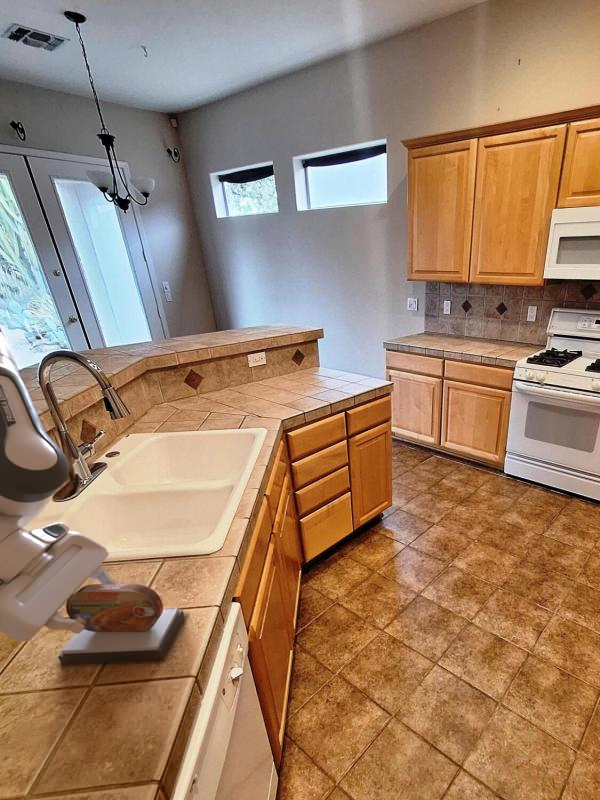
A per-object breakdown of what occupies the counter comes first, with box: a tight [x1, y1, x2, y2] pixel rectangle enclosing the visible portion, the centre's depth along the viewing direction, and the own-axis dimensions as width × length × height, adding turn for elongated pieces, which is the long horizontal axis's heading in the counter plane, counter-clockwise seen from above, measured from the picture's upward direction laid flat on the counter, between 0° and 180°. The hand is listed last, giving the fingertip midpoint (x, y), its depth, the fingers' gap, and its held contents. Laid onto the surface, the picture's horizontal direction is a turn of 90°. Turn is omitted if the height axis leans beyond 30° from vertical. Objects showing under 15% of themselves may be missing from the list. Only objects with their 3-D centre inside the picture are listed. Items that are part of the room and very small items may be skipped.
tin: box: [65, 583, 164, 632], centre depth 73 cm, size 15×3×8 cm, turn 90°
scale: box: [57, 608, 186, 666], centre depth 75 cm, size 16×10×3 cm, turn 94°
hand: (100, 607), depth 72 cm, fingers open, 8 cm apart
